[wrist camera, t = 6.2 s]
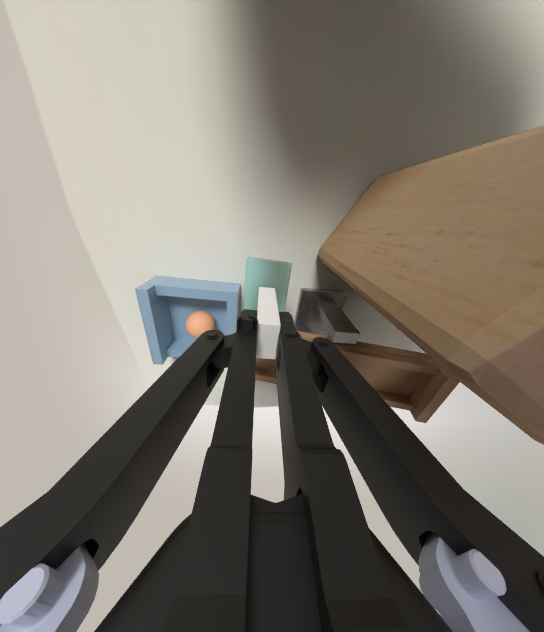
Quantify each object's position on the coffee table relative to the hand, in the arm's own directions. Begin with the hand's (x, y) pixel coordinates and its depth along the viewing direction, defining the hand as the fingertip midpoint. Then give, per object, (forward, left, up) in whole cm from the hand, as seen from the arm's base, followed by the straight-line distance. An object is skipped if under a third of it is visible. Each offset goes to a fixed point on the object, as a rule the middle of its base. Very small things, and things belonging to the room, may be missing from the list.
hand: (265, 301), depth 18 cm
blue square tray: (+6, -8, -7) cm, 13 cm away
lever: (+3, +8, 0) cm, 9 cm away
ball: (+6, -8, -5) cm, 11 cm away
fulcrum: (+6, +8, -7) cm, 13 cm away
